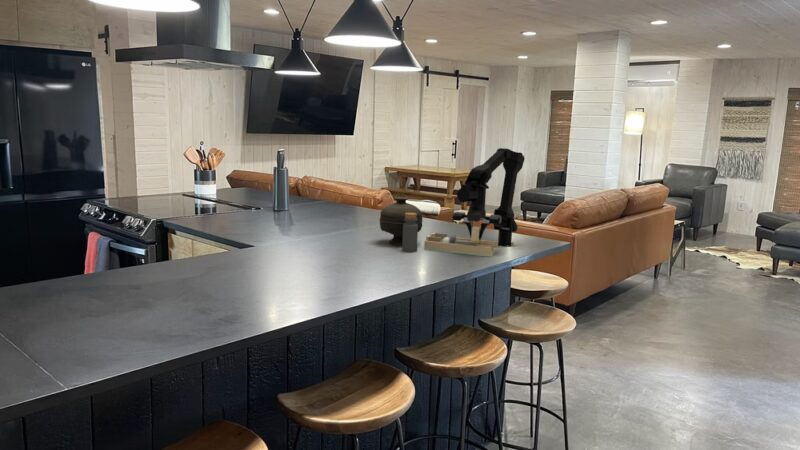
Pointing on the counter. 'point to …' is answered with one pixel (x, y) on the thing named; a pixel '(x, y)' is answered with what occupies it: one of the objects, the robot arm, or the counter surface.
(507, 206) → the robot arm
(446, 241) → the ball
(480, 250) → the pitch
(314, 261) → the counter surface
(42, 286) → the counter surface
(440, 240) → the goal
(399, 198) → the pot
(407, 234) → the bottle
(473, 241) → the tan and grey block
